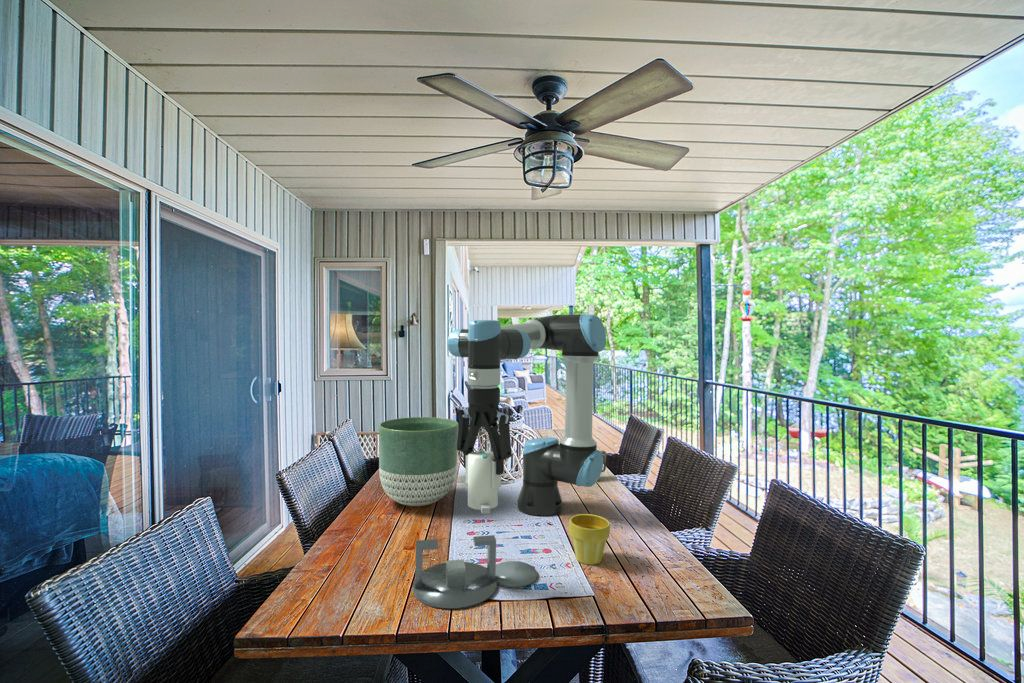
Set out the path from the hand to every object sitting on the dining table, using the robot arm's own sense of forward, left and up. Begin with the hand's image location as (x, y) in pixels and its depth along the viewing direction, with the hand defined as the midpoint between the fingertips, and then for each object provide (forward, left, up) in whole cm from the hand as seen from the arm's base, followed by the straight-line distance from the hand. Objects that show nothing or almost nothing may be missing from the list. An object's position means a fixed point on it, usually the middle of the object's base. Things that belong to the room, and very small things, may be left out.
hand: (483, 484), depth 107 cm
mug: (-56, -70, -23) cm, 92 cm away
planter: (+14, -55, -23) cm, 61 cm away
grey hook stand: (+6, +1, -22) cm, 23 cm away
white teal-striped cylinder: (0, 0, -5) cm, 5 cm away
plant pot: (-29, -6, -23) cm, 37 cm away
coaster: (-8, -1, -22) cm, 24 cm away
